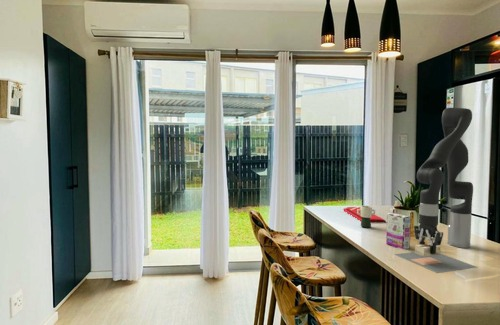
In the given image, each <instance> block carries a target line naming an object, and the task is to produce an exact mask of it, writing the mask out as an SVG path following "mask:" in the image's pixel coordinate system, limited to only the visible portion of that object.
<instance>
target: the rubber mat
mask: <svg viewBox="0 0 500 325" xmlns="http://www.w3.org/2000/svg"><path fill="white" fill-rule="evenodd" d="M394 256H396V257H399V258H401V259H404V260H405V261H407V262H410V263H413V264H416V265H417V266H420V267H422V268H425V269H426V270H430V271H431V272H433V273H435V274H441V273H448V272H455V271H462V270H469V269H478V266H475V265H473V264H470V263H468V262H465V261H462V260H460V259H456V258H454V257H451V256H448V255H446V254H442V253H441V252H440V255H432V256H421V255H419V254H416V253H415V251H413V252H412V251H410V252H404V253H402V252H400V253H394Z"/></svg>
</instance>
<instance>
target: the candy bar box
mask: <svg viewBox="0 0 500 325" xmlns="http://www.w3.org/2000/svg"><path fill="white" fill-rule="evenodd" d="M411 219H412V216H409V215H404V214H400V213H395V212H389V213H388V212H387V213H386V245H388V246H391V247H393V248H398V249H402V250H406V249H410V248H411V227H412V226H411V223H412V220H411Z"/></svg>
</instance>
